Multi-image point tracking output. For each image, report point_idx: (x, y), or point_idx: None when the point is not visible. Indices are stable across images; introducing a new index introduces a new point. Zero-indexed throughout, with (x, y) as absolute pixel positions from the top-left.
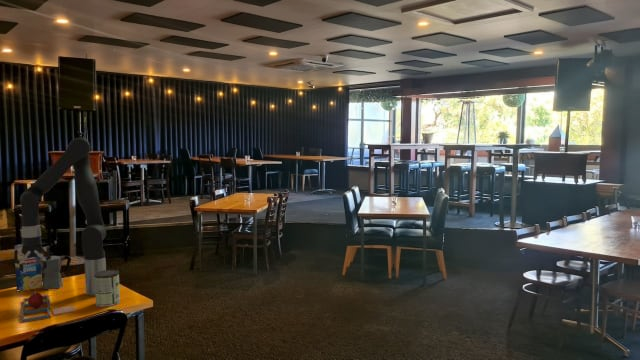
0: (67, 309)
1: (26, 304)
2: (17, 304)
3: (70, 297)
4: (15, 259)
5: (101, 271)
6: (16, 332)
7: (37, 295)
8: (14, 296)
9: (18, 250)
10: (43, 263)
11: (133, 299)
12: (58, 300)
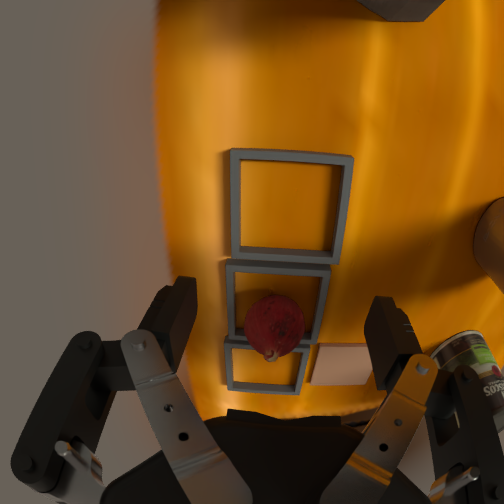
0: (354, 369)
1: (241, 258)
2: (206, 187)
3: (424, 228)
4: (91, 408)
5: (495, 417)
6: (218, 416)
7: (279, 356)
8: (194, 26)
9: (77, 500)
10: (377, 373)
11: (497, 353)
12: (375, 240)
